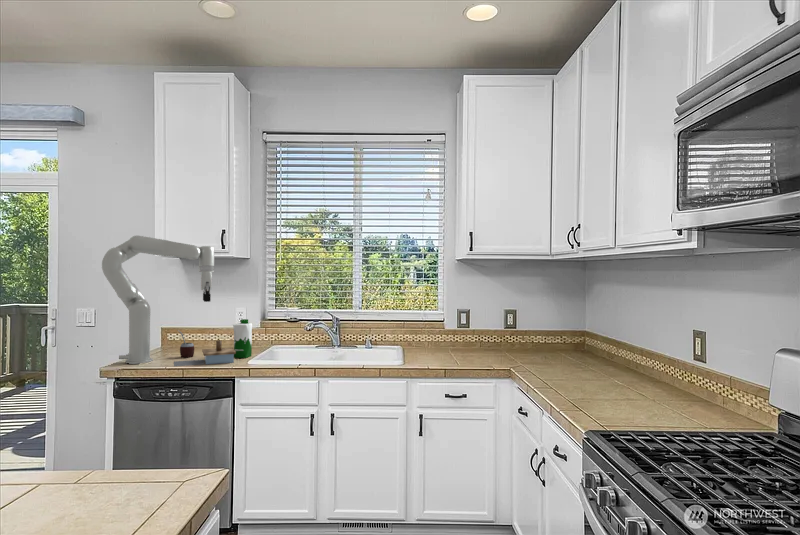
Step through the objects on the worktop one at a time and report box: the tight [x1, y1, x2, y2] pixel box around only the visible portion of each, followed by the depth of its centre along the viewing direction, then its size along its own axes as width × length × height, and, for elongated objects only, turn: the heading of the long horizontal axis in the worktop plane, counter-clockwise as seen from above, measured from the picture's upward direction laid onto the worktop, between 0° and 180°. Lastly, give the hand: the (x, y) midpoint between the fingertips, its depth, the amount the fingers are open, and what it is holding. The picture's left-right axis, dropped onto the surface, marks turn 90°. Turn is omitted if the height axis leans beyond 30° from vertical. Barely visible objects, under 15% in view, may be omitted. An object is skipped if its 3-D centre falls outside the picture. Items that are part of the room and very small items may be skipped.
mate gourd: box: [177, 329, 195, 359], centre depth 272 cm, size 8×8×15 cm
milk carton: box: [232, 318, 253, 359], centre depth 277 cm, size 9×9×20 cm
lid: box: [202, 340, 236, 357], centre depth 261 cm, size 15×15×6 cm
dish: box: [204, 354, 235, 365], centre depth 261 cm, size 13×13×5 cm
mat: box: [173, 359, 206, 367], centre depth 256 cm, size 14×14×1 cm
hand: (206, 301), depth 275 cm, fingers open, 9 cm apart
